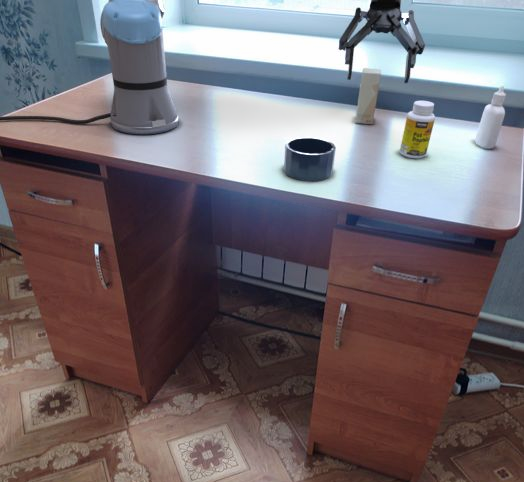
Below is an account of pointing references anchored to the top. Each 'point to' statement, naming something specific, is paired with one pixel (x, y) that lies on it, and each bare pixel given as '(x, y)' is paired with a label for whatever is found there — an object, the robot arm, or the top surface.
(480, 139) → the eye dropper bottle
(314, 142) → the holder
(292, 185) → the top surface
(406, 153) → the supplement bottle
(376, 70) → the box
